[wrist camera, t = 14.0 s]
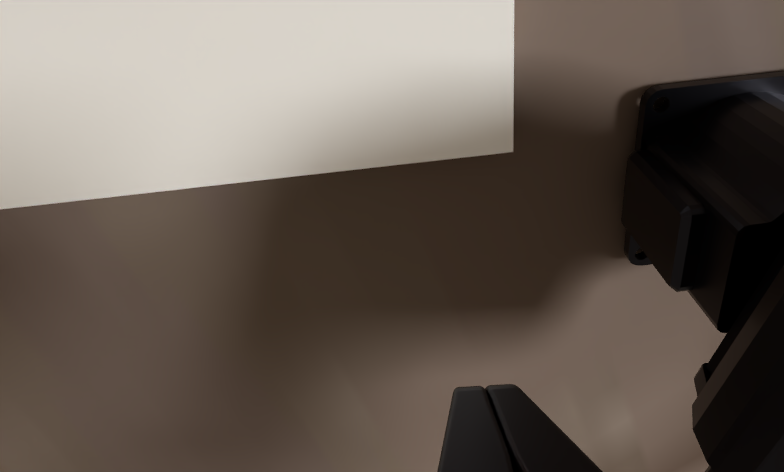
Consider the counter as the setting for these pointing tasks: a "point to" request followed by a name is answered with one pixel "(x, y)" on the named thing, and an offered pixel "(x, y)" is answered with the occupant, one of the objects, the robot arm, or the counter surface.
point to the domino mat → (243, 91)
